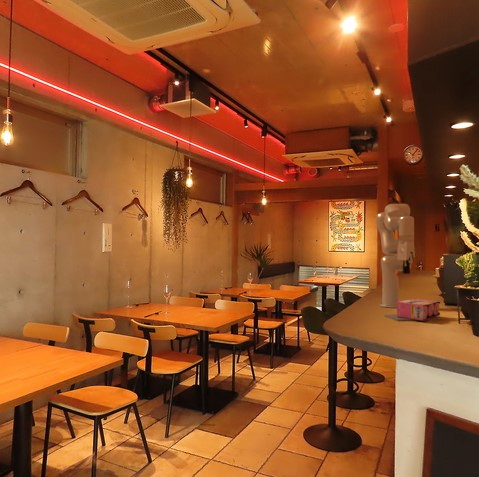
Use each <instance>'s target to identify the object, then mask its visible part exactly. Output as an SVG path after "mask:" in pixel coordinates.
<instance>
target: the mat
mask: <svg viewBox="0 0 479 477" xmlns="http://www.w3.org/2000/svg"><path fill="white" fill-rule="evenodd" d="M383 316H384V317H385V318H387V319H390V320H393V321H397V322H420V321H421V322H423V321H426V322H427V321H428V322H429V321H430V322H431V321H443V318H441V317H439V316H436V317H432V318H429V319H426V320H416V319H409V318H402V317H397V314H383Z"/></svg>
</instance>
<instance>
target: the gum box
mask: <svg viewBox="0 0 479 477" xmlns="http://www.w3.org/2000/svg"><path fill="white" fill-rule="evenodd" d="M440 304H441V301H437V300H429V299H421V298H412V299H406V300H399V302H397V308H396V315H397V317H402V318H409V319H416V320H426V319H429V318H432V317H440V315H441V312H440Z"/></svg>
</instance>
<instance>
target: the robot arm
mask: <svg viewBox="0 0 479 477" xmlns="http://www.w3.org/2000/svg"><path fill="white" fill-rule="evenodd" d="M410 215H411V207H410V206H409V204H408V203H407V204H406V203H390V204H388V205H386V206H385V207H384V211H383V212H378V214H377V215H376V217H375V222H376V227H377V230H378V232H379V236H380V241H381V242H380V244H381V251H382V253H383V254H385V255H384V256H382V257H381V259H380V267H381V274H382V280H381V281H382V283H381V284H382V285H381V286H382V288H381V290H382V298H381V301H382V303H381V302H380V304H379V306H380V307H382V308H393V309H397V302H400V300H399V299H400V298H399V296H400V294H399V293H400V285H399V281H400V280H399V276H398V274H396V272H402V274H404V275H405V274H407V275H410V274H411V268H412V264H413V263H414V262H413V261H414V260H415V258H416V256H415V255H416V254H415V217H414V216H410ZM394 231H398V239H396V235H395V232H394Z"/></svg>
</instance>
